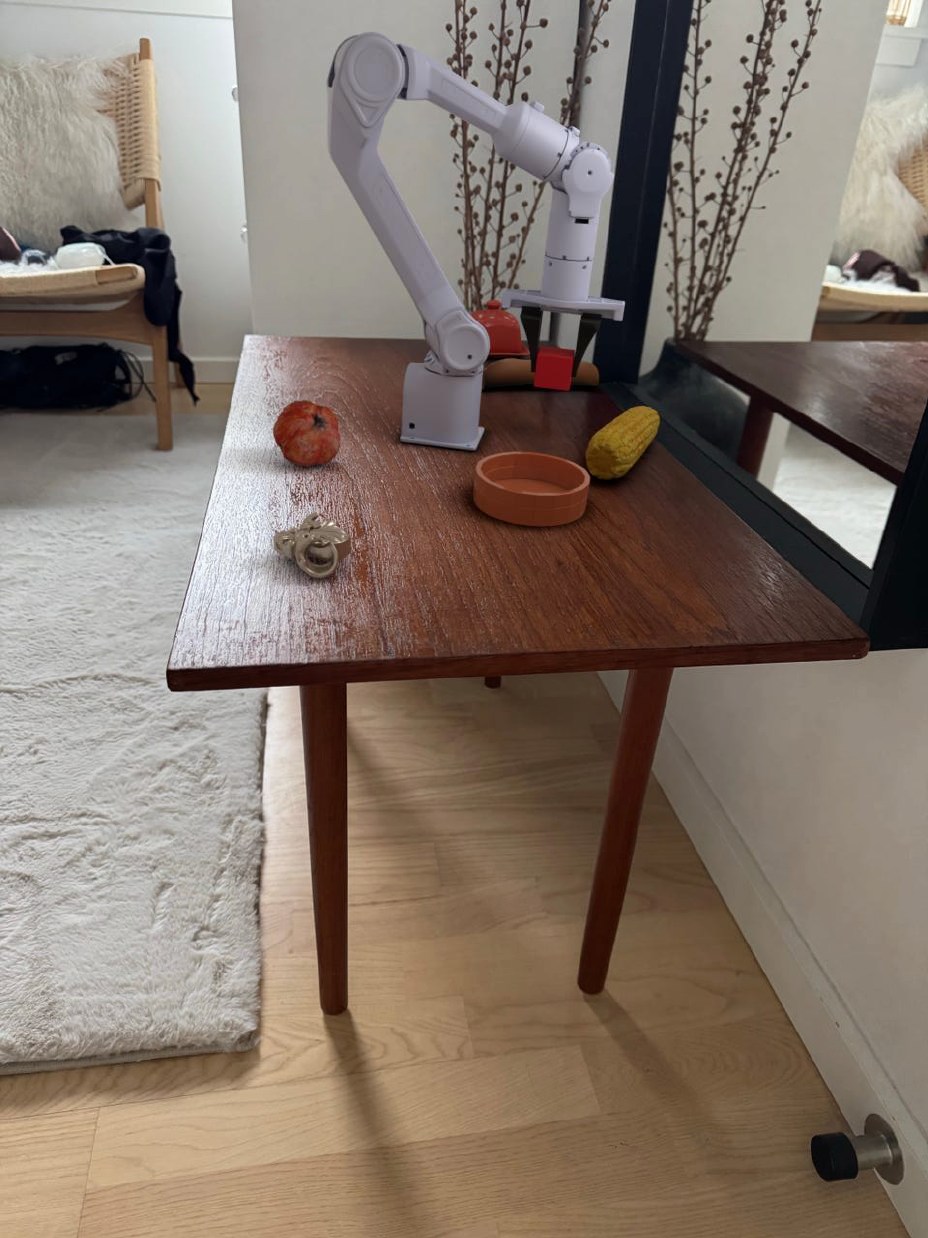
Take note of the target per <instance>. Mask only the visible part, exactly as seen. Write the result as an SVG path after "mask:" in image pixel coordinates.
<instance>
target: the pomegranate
mask: <svg viewBox="0 0 928 1238" xmlns="http://www.w3.org/2000/svg"><path fill="white" fill-rule="evenodd" d="M272 429H273V430H272V435H273V438H274V442H275V444H276V446H278V448H279V449H280V451H281V454H282V456H283V457H284V459H285V460H286V461H288V462H290V463H291V464H294V465H296V466H300V467H302V468H303V467H310V466H314V465H324V464H327V463H331V461H332V460H333V459H334V458H335V457H336V456H337V455H338V453H339V451H340V448H341V433H340V432H339V422H338V419H337V417H336V414H335V412H334V411H333V410H332V409H331V408H330V407H327V406H323V405H319V404H317V403H314V402H313V401H311V400H308V399H302V400H293V402H291V403H288V404H287V405H286V406H284V408H283V409H282V411H281V412H280V413H279V414H278V416H277V419H276V420H275V422H274V424H273V428H272Z"/></svg>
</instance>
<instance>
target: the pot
mask: <svg viewBox="0 0 928 1238" xmlns="http://www.w3.org/2000/svg"><path fill="white" fill-rule="evenodd" d="M590 482H591V476H590V474H589V473H588V471H587V469H585V468H584V467H582V466H581V465H579V464H577V463H576V462H574V461H571V460H568V459H565V458H563V457H561V456H560V457H559V456H555V455H551V454H548V453H540V452H533V451H508V452H506V451H505V452H499V453H495V454H491V455H487V456H485V457H484V458H482V459H480V460H479V461H477V464H476V465H475V468H474V479H473V488H472V489H473V490H472V494H473V496H472V497H473V502H474V505H475V506H476V507H477V508H478V509H479V510H480V511H481V512H483V514H486V515H488V516H490V517H492V518H494V519H497V520H500V521H503V522H506V523H510V524H514V525H519V526H527V527H556V526H563V525H567V524H570V523H573V522H575V521H577V520H579V519H580V518H582V516H583V515H584V514H585V511H586V508H587V501H588V495H589V489H590Z"/></svg>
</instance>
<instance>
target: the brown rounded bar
mask: <svg viewBox="0 0 928 1238" xmlns="http://www.w3.org/2000/svg"><path fill="white" fill-rule="evenodd" d="M534 379H535V373H533V372H531V360H530V359H518V358H502V359H499V360H495V361H494V362H491V363H489V364H488V366H486V367H483V378H482V390H485V389H486V388H499V387H500V388H501V387H512V386H523V385H533V386H534ZM599 384H600V373H599V369H598V368H597V366H596V365H595V364H593V362H590V361H589V362H588V361H585V360H581V362H580V365H579V368H578V372H577V376H576V378H575V377H571V383H570V386H589V387H591V388H593V389H594V390H598V388H599Z"/></svg>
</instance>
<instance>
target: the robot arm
mask: <svg viewBox="0 0 928 1238" xmlns="http://www.w3.org/2000/svg"><path fill="white" fill-rule="evenodd" d="M325 83H326V101H327V102H326V104H327V107H326V108H327V109H326V111H327V113H326V115H327V117H326V123H327V125H326V127H327V129H326V130H327V134H326V135H327V136H326V137H327V138H326V139H327V141H326V142H327V145H326V146H327V152H328V154H329V157H330V159H331V161H332V163H333V164H334V166H335V168H336V169H337V171H338V173H339V175H340V177H341V178H342V180H343V182H344V184H345V185H346V187H347V189H348V190H349V192H350V194H351V196H352V197H353V199H354V201H355V203H356V205H357V207H358V208H359V209H360V211H361V213H362V215H363V217H364V218H365V220H366V222H367V223H368V225H369V227H370V229H371V231H372V232H373V234H374V236H375V237H376V239H377V241H378V243H379V244H380V246H381V248H382V249H383V251H384V253H385V255H386V257H387V258H388V260H389V262H390V263H391V265H392V267H393V268H394V270H395V272H396V274H397V275H398V277H399V280H400V281H401V283H402V284H403V286H404V288H405V289H406V291H407V293H408V294H409V297H410V298H411V300H412V302H413V304H414V306H415V309H416V310H417V312H418V314H419V316H420V318H421V320H422V327H423V329H422V330H423V337H424V339H425V342H426V343H427V345H428V346H429V347H430V350H429V351H428V352H427V354H426V356H425V358H424V360H423V362H409V363H408V365H407V367H406V371H405V374H404V381H403V388H402V389H403V391H402V410H401V411H402V412H401V413H402V414H401V436H400V438H399V439H400V440H399V441H401V442H403V443H409V444H410V443H411V444H419V445H426V446H434V447H442V448H449V449H456V450H457V449H458V450H464V451H472V452H473V451H476V450H477V449H478V446H479V444H480V442H481V440H482V437H483V435H484V433H485V427H484V426H479V425H480V413H481V412H480V411H481V401H482V391H483V389H482V378H483V369H484V368H485V367H484V363H485V362H486V360H487V359H488V358H487V357H488V354H489V350H490V340H489V336H488V333H487V331H486V330H485V328H484V327H483V326H482V325H481V324H480V323H478V322H477V321H476V320H474V318H473V317H472V316H471V315H470V313H471V312H470V311H469V310H468V309H467V308H466V307H465V306H464V305H463V303H462V301H461V300H460V298H459V297H458V295H457V293H455V291H454V289H453V288H452V286H451V284H450V282H449V280H448V279H447V277H446V275H445V273H444V272H443V270H442V268H441V266H440V264H439V262H438V261H437V259H436V257H435V255H434V253H433V251H432V249H431V248H430V246H429V244H428V242H427V240H426V239H425V237H424V235H423V233H422V232H421V229H420V228H419V226H418V223H417V222H416V220H415V218H414V216H413V215H412V213H411V211H410V209H409V207H408V205H407V204H406V202H405V200H404V198H403V196H402V194H401V192H400V190H399V189H398V187H397V185H396V184H395V182H394V180H393V178H392V176H391V174H390V172H389V170H388V168H387V167H386V165H385V163H384V161H383V160H382V157H381V156H380V153H379V152H378V146H379V141H380V138H381V135H382V130H383V127H384V123H385V118H386V116H387V115H388V113H389V111H390V110H391V108H392V107H393V105H394V103H395V102H396V100H403V101H428V102H430V103H432V104H433V105H435V106H437V107H439V108H440V109H442V110H444V111H446V112H448V113H450V114H452V115H453V116H455V117H457V118H459V119H460V120H462V121H464V122H466V123H468V124H469V125H471V126H473V127H475V128H477V129H479V130H481V131H482V132H483V133H486V134H488V135H489V136H490V138H491V140H492V143H493V147H494V152H495V153H496V155H497V156H498V157H500V158H502V159H504V160H505V161H507V162H509V163H510V164H512V165H514V166H516V167H518V168H519V169H521V170H523V171H524V172H526V173H527V174H530V175H532V176H533V177H535V178H536V179H538V180H540V181H542V182H544V183H548V184H549V186H550V187H551V189H552V194H551V201H550V202H551V203H550V210H549V214H548V215H549V216H548V223H547V225H548V226H547V233H546V241H545V249H544V250H545V251H544V259H543V268H542V274H541V275H542V277H541V283H540V289H519V288H518V289H517V288H506V287H505V288H504V289H503V291H502V300H501V308H502V309H511V308H512V309H513V308H514V309H521V310H520V315H519V316H520V317H519V318H520V323H521V325H522V328H523V332H524V335H525V338H526V342H527V347H528V351H529V352H530V354H529V360H531V372H533V373H535V371H536V362H537V354H538V351H539V349H540V340H541V332H542V325H543V317H544V312H549V313H558V314H567V315H576V316H580V318H579V323H578V330H577V339H576V345H575V347H576V348H575V355H574V361H573V366H572V374H571V377H575V378H576V376H577V372H578V368H579V365H580V362H581V361H583V358H584V355H585V353H586V351H587V349H588V347H589V345H590V344H591V341H592V340H593V338H594V337H595V335H596V333H597V332H598V331H599V329H600V327H601V323H602V318H603V319H610V320H611V319H612V320H613V321H616V322H617V321H618V322H622V321H623V318H624V312H625V305H626V302H625V300H616V299H612V298H611V299H610V298H604V297H600V296H594V295H590V286H591V279H592V272H593V265H594V258H595V253H596V246H597V238H598V232H599V231H598V230H599V222H600V213H601V206H602V200H603V197H604V196H605V195H606V194H607V193H608V192H609V190H610V189H611V187H612V185H613V182H614V179H615V173H613V172H612V171H613V170H612V169H613V167H612V161H611V158H610V157H609V156H608V155H609V153H608V151H606V150H605V149H604V148H603V147H602V146H601V145H599V144H597V143H594V142H588V141H584V140H583V139H582V138H580V137H579V136H580V134H581V130H580V129H578V128H576V127H575V126H572V125H570V126H569V128H567V127H566V126H564V125H563V124H561V123H559V122H558V121H556V120H555V119H553V118H552V117H550V116H549V115H547V114H545V113H543V112H544V111H545V106H544V105H543V104H541V103H540V102H538V101H536V100H531V101H530V102H529V103H528V102H526V101H524V100H518V101H516V102H514V103H511V104H509V105H505V104H503V103H501V102H499V101H498V100H497V99H495V98H494V97H492V96H491V95H489V94H488V93H486V92H485V91H483V90H482V89H480V88H479V87H477V86H476V85H474V84H472V83H471V82H469V81H468V80H467V79H465V78H464V77H462V76H460V75H459V74H457V73H456V72H455V71H453V70H452V69H450V68H449V67H447V66H445V65H444V64H442V63H441V62H440V61H438V60H436V59H435V58H434V57H431V56H429V55H428V54H426V53H423V52H421V51H419V50H417V49H415V48H412V47H411V46H408V45H406V44H403V43H395V42H394V41H393V40H392V39H391V38H390V37H388V36H387V35H385V34H382V33H380V32H375V31H366V32H362V33H360V34H354V35H350V36H349V37H347V38H345V39H344V40H343V41H341V43H340V44H339V45H338V47H337V49H336V50H335V52H334V54H333V58H332V61H331V64H330V67H329V70H328V74H327V77H326V81H325Z"/></svg>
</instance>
